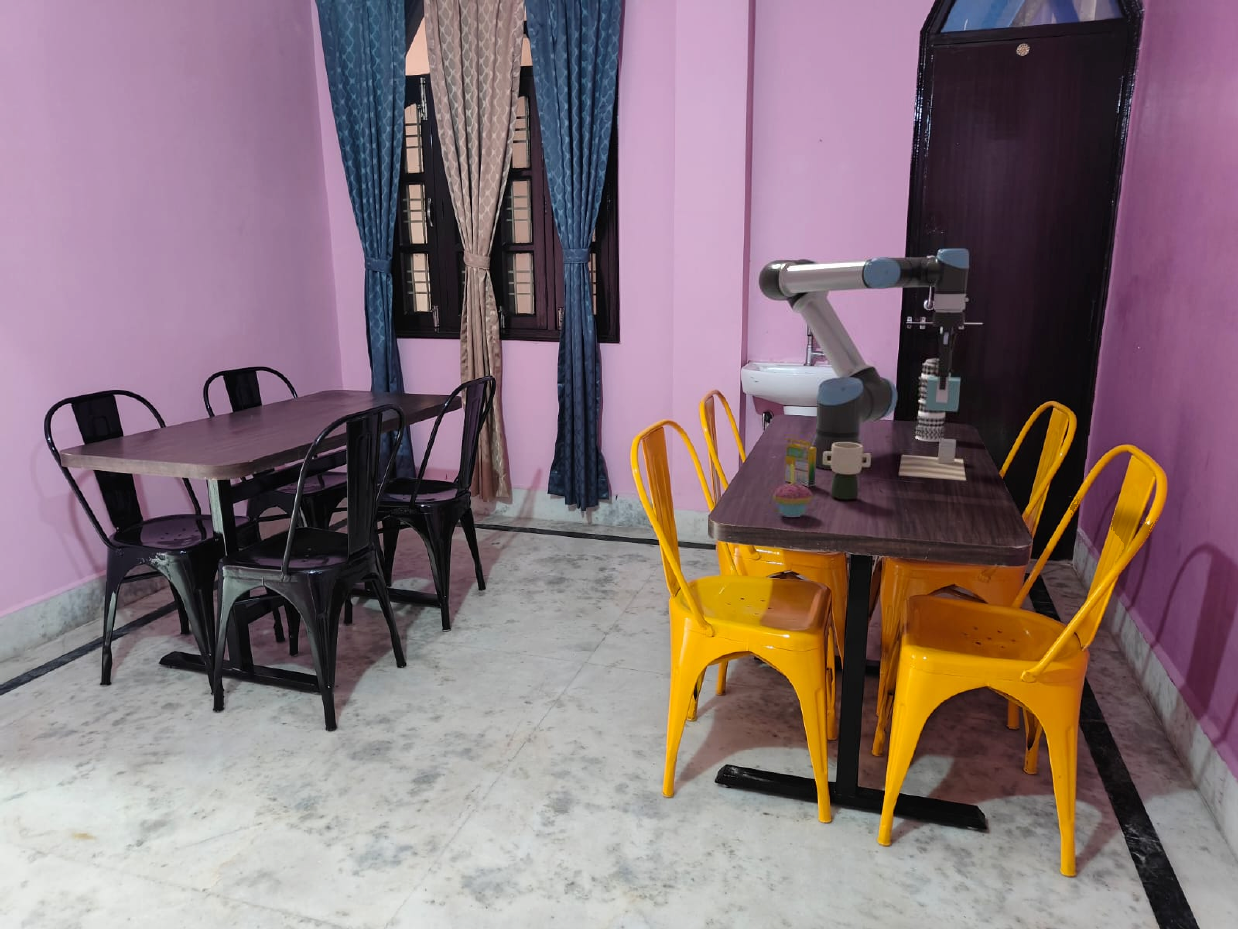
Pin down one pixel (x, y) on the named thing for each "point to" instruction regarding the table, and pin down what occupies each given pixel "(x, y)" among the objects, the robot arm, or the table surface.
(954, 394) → the teal cube
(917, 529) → the table surface
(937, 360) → the decorative candle
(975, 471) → the table surface
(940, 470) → the base board
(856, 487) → the character mug
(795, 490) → the cupcake
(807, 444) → the crayon box
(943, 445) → the grey rectangular block
